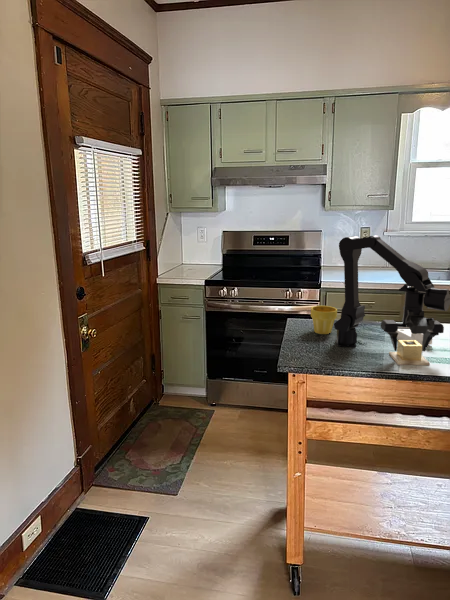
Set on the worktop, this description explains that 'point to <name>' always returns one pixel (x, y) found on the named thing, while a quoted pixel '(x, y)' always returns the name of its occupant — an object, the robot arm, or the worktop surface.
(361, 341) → the worktop surface
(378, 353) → the worktop surface
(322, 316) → the plant pot
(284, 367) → the worktop surface
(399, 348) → the brass collar
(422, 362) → the post board
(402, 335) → the bracket
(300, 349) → the worktop surface
